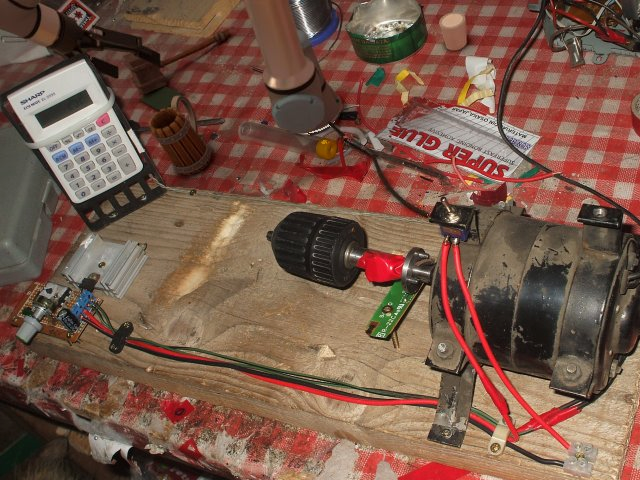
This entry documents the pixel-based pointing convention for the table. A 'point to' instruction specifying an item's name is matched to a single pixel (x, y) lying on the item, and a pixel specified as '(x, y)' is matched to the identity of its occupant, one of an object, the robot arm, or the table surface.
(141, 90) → the hammer
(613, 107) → the table surface
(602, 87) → the table surface
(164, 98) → the mat
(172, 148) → the mug
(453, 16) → the pink cylinder
